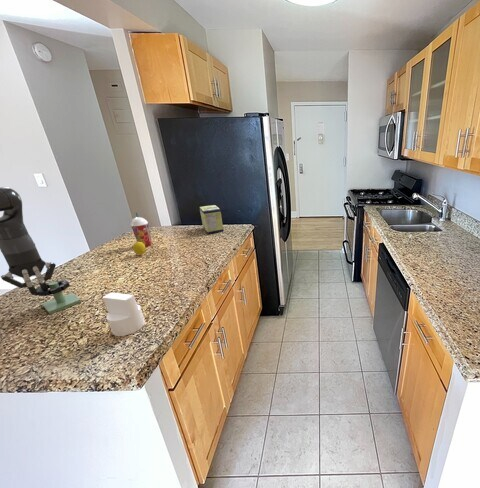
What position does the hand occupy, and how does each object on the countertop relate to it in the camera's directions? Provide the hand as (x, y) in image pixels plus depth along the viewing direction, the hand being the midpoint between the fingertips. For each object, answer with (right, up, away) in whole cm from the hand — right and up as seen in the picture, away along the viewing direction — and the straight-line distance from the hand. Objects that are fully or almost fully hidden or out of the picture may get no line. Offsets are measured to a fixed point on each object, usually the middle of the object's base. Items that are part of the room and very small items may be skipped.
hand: (40, 293), depth 93 cm
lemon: (+3, +11, +47) cm, 49 cm away
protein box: (+25, +27, +86) cm, 94 cm away
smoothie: (-4, +17, +60) cm, 63 cm away
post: (+2, -5, +6) cm, 8 cm away
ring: (+2, +1, +3) cm, 3 cm away
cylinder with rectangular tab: (+37, -10, -6) cm, 38 cm away
